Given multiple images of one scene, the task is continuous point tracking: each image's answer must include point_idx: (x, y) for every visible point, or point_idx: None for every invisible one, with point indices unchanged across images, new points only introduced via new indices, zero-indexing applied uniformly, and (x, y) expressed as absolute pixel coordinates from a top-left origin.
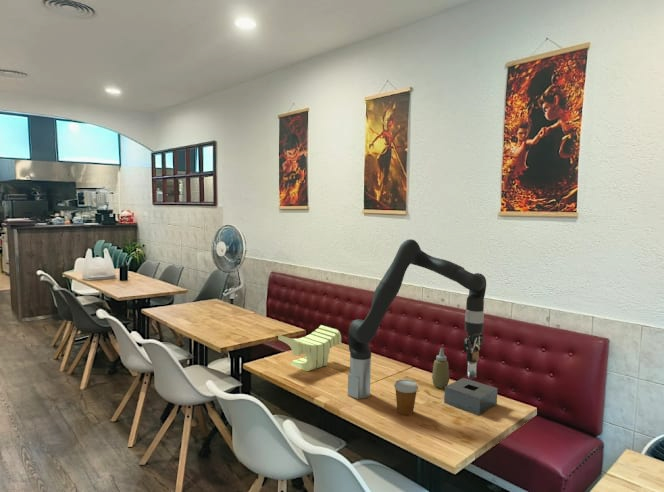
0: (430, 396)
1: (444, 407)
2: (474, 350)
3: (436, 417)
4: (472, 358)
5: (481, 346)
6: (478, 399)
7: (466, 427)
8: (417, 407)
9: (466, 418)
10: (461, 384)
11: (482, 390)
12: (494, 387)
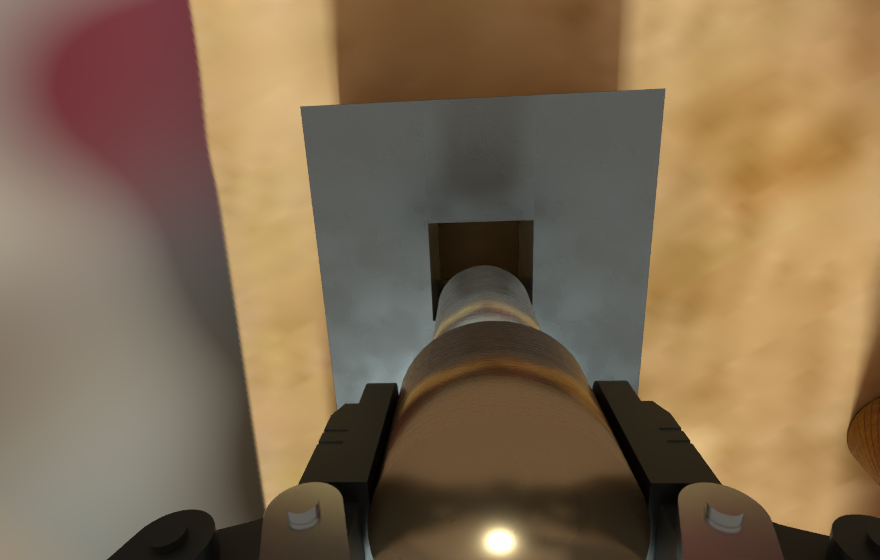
0: None
1: (665, 317)
2: (419, 537)
3: (845, 274)
4: (597, 404)
5: (155, 537)
6: (659, 105)
7: (866, 59)
8: (783, 419)
9: (725, 135)
10: None
11: (464, 173)
12: (308, 135)
